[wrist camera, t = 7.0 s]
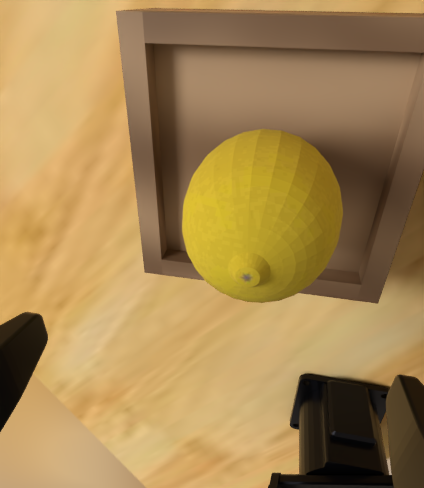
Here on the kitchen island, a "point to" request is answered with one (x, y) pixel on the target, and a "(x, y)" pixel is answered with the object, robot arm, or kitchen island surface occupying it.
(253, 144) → the lemon
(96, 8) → the kitchen island surface
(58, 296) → the kitchen island surface
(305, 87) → the walnut base
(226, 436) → the kitchen island surface
